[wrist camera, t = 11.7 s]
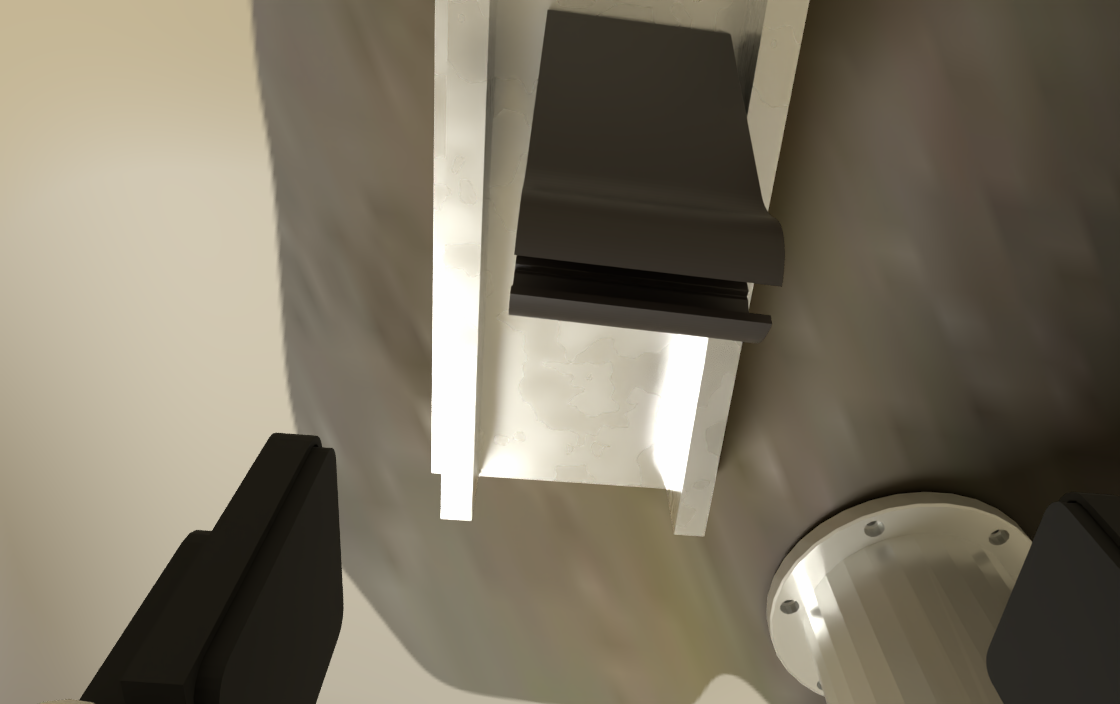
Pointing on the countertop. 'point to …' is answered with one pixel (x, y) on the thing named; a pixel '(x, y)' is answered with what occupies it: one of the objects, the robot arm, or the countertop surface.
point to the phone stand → (642, 185)
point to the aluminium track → (558, 346)
